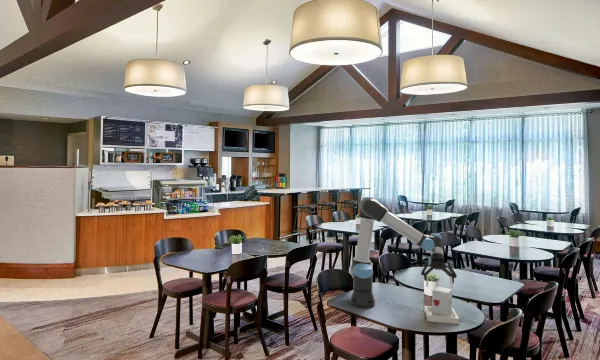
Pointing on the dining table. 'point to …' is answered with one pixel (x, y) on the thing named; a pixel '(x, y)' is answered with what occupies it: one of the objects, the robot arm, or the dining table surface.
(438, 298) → the supplement box
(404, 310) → the dining table surface
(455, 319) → the stoneware dish
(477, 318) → the dining table surface
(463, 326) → the dining table surface
